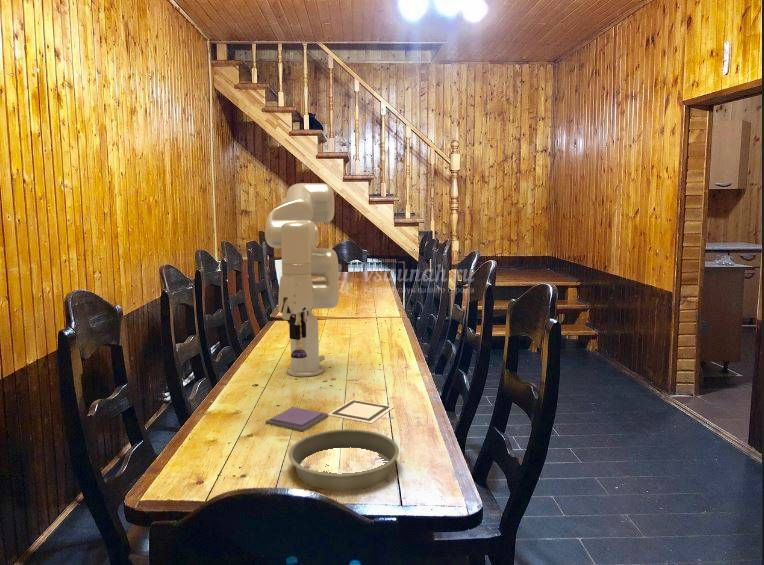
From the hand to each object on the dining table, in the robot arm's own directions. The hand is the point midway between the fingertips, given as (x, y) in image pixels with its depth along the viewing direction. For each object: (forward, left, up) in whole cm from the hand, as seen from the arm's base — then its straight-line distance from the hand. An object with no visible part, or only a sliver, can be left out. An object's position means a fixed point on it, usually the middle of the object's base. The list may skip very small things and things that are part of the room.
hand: (297, 337), depth 162 cm
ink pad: (+1, 0, -23) cm, 23 cm away
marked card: (-13, +12, -23) cm, 29 cm away
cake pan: (+20, +26, -23) cm, 40 cm away
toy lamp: (0, 0, -5) cm, 5 cm away
